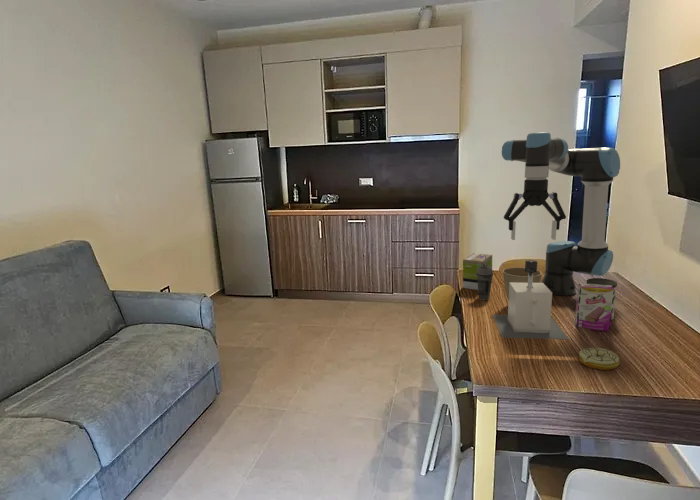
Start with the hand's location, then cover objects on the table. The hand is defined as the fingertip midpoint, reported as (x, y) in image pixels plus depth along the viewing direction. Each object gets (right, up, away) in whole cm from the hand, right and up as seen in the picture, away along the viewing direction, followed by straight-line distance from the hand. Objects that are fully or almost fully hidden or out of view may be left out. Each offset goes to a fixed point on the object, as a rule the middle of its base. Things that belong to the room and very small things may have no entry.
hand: (533, 239), depth 153 cm
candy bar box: (+24, -33, +5) cm, 41 cm away
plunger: (+1, -31, +7) cm, 32 cm away
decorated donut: (+11, -39, -20) cm, 46 cm away
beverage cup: (-5, -26, +42) cm, 49 cm away
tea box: (-2, -22, +61) cm, 64 cm away
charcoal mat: (+1, -33, +7) cm, 34 cm away
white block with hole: (+1, -32, +6) cm, 33 cm away
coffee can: (+33, -30, +17) cm, 48 cm away
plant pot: (+6, -28, +28) cm, 40 cm away
